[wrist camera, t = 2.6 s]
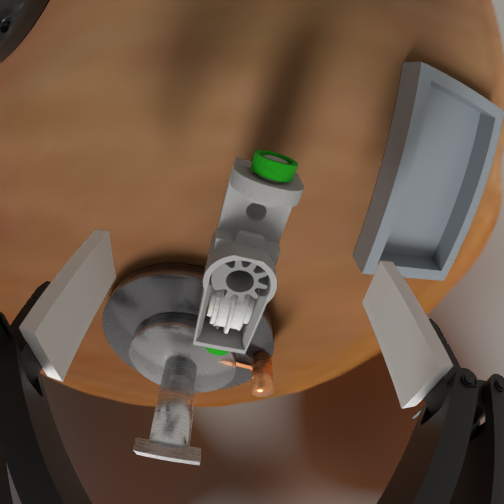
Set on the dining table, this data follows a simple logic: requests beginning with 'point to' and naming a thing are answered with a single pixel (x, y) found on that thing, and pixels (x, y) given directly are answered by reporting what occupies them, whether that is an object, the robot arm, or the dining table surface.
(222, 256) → the mechanical component
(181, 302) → the crank base
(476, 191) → the tray
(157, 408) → the crank
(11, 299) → the dining table surface
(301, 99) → the dining table surface
